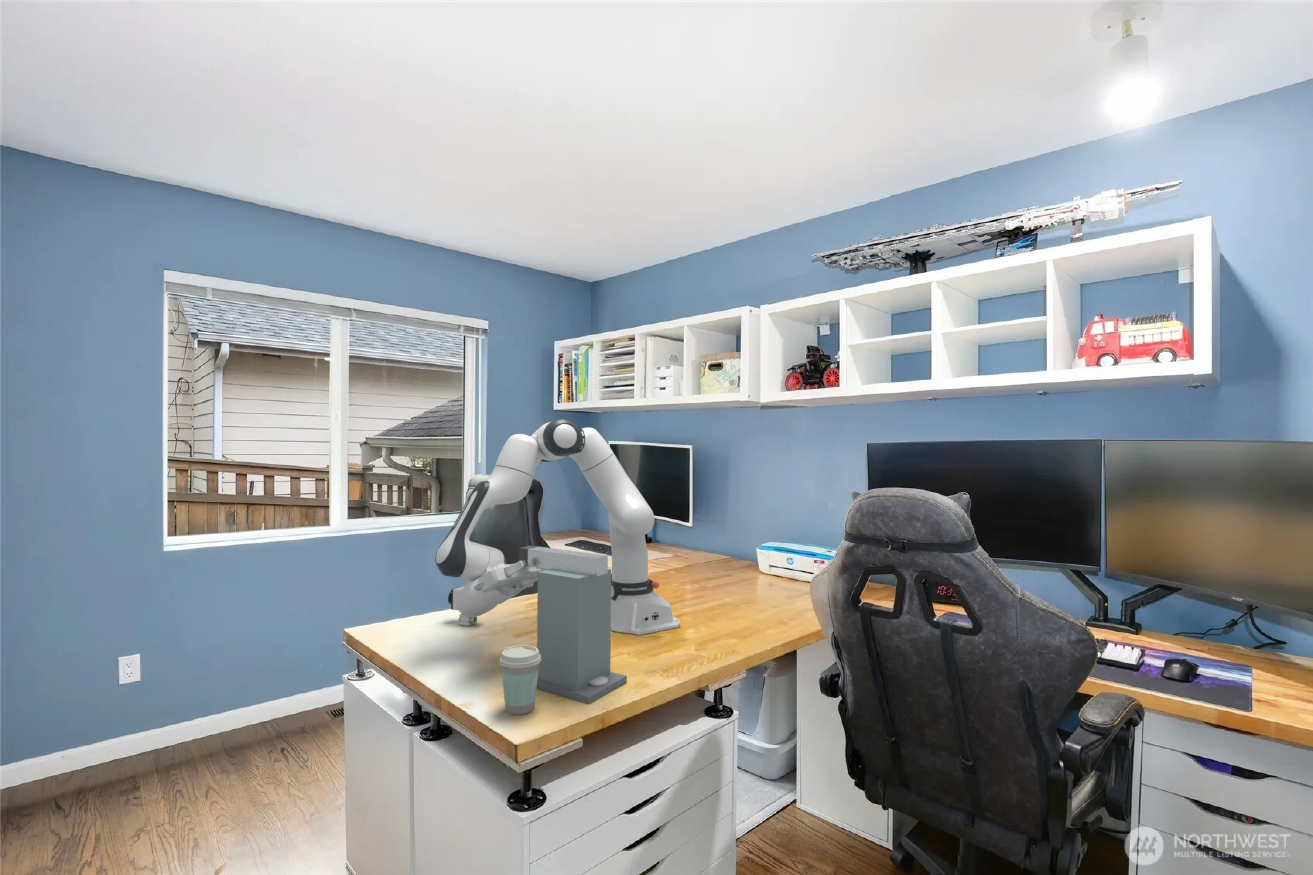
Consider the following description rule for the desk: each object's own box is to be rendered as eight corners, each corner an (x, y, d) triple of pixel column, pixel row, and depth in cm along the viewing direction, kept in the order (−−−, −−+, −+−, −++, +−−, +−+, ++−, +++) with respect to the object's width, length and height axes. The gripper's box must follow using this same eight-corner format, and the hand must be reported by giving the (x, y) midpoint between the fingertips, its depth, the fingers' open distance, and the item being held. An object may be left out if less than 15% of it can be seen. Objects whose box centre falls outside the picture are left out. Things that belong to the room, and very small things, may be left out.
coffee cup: (538, 717, 122) (538, 658, 122) (495, 718, 121) (496, 658, 122) (542, 699, 131) (543, 644, 131) (502, 700, 130) (503, 644, 130)
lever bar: (518, 564, 147) (518, 547, 147) (530, 561, 150) (530, 545, 150) (596, 576, 134) (597, 558, 134) (607, 573, 137) (607, 555, 138)
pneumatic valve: (479, 628, 180) (479, 588, 180) (447, 624, 184) (447, 585, 184) (490, 623, 185) (490, 584, 185) (459, 619, 189) (459, 581, 189)
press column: (533, 687, 137) (534, 572, 137) (573, 668, 149) (574, 562, 149) (588, 703, 128) (589, 581, 129) (626, 682, 140) (627, 570, 141)
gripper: (465, 578, 145) (500, 554, 138) (526, 564, 162) (560, 542, 156) (474, 603, 143) (510, 580, 137) (535, 586, 160) (569, 565, 154)
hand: (537, 560), depth 146 cm, fingers open, 8 cm apart
